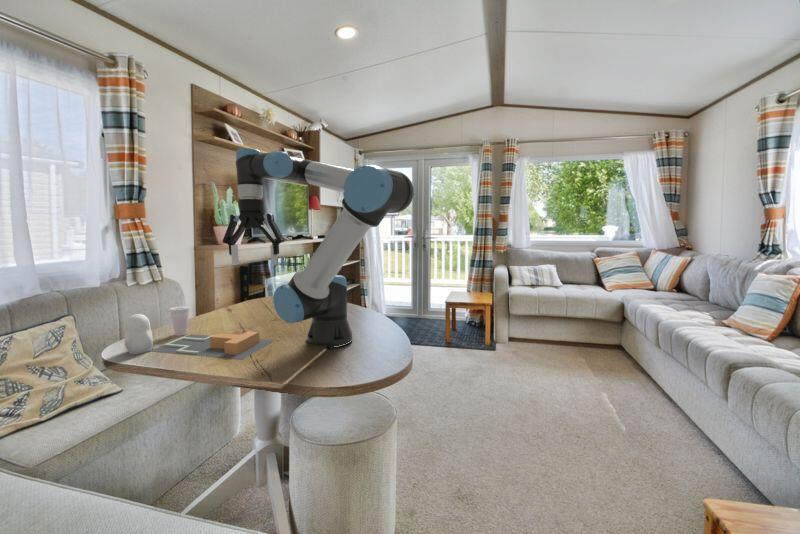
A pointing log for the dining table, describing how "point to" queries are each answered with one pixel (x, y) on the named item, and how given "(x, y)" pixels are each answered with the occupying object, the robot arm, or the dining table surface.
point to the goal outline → (184, 347)
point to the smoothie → (180, 318)
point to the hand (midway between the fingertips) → (254, 264)
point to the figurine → (138, 334)
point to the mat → (210, 352)
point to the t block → (234, 342)
